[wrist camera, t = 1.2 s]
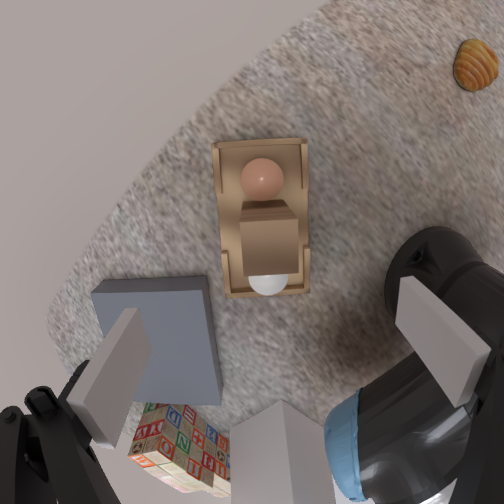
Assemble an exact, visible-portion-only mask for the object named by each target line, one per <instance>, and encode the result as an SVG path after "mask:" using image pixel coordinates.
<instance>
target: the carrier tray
mask: <svg viewBox="0 0 504 504" xmlns="http://www.w3.org/2000/svg"><path fill="white" fill-rule="evenodd" d="M212 157H213V170H214V182H215V194H217V204H218V215H219V226H220V237H221V248H222V252H221V259H222V269H223V279H224V288H225V297H226V298H245V297H262V296H277V295H291V294H304V293H310V247H309V246H308V193H307V189H309V167H308V146H307V138H278V139H256V140H240V141H227V142H216V143H212ZM258 158H266V159H270V160H272V161H274V162H275V163H276V164H278V166H279V167H280V168H281V170H282V172H283V176H284V183H283V187H282V189H281V191H280V192H279V194H278V195H277V196H275V197H274V198H272V199H270V200H266V201H258V200H254V199H252V198H250V197H249V196H248V195H247V194H246V193H245V192H244V191H243V189H242V186H241V181H240V177H241V173H242V170H243V168H244V167H245V166H246V165H247V164H248V163H249V162H250V161H252V160H254V159H258ZM279 274H288V282H287V284H286V286H285V287H284V289H283V290H281V291H280V292H279V293H277V294H274V295H262V294H259V293H257V292H256V291H255V290H253V288H252V287H251V285H250V283H249V276H263V275H279Z"/></svg>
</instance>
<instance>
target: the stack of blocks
mask: <svg viewBox="0 0 504 504" xmlns="http://www.w3.org/2000/svg"><path fill="white" fill-rule="evenodd" d="M128 457H129V458H130V459H131V460H133V461H134V462H136V463H137V464H139V465H140V466H141V467H143V469H144V470H146V471H147V472H149V473H150V474H152V475H153V476H155V477H157V478H159V479H160V480H162V481H163V482H165V483H167V484H168V485H171V486H172V487H174V488H175V489H177V490H179V491H181V492H182V493H188V492H194V491H200V490H205V491H206V492H209V493H210V494H212V495H214V496H216V497H218V498H220V497H226V496H231V481H230V442H229V441H227V440H226V439H225V438H224V437H223V436H222V435H220V434H219V433H217V432H216V431H215V430H214V429H213V428H212V427H211V426H209V425H208V424H207V423H206V422H205V421H204V420H202V419H201V418H200V417H199V416H198V415H197V414H196V413H195V412H194V411H193V410H192V409H191V408H190V407H189V406H188V405H182V404H163V403H149V402H147V403H146V406H145V409H144V411H143V415H142V417H141V420H140V423H139V425H138V428H137V430H136V433H135V435H134V438H133V442H132V445H131V448H130V451H129V453H128Z"/></svg>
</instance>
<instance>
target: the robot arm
mask: <svg viewBox="0 0 504 504" xmlns="http://www.w3.org/2000/svg"><path fill="white" fill-rule="evenodd" d="M385 302H386V306H387V308H388V311H389V313H390V314H391V316H392V317H393V318H394V319H395V324H396V326H397V327H398V328H399V330H400V331H401V332H402V334H403V335H404V336H405V338H406V339H407V340H408V342H409V343H410V344H411V346H412V347H413V348H414V350H415V351H414V352H413V353H411V354H410V355H409V356H407V357H406V358H405V359H404V360H402V361H401V362H399V363H398V364H397V365H395V366H394V367H393V368H391V369H390V370H389V371H387V372H386V373H384V374H383V375H381V376H380V377H379V378H377V379H376V380H374V381H373V382H371V383H370V384H368V385H367V386H365V387H364V388H363V387H362V388H360V389H358V390H357V391H356V393H355V394H354V395H352V396H351V397H349V398H348V399H346V400H345V401H343V402H342V403H340V404H339V405H337V406H336V407H335V408H334V409H332V411H331V412H330V413H329V415H328V417H327V419H326V422H325V427H324V440H325V442H324V443H325V451H326V456H327V460H328V463H329V467H330V470H331V473H332V475H333V477H334V479H335V482H336V484H337V486H338V487H339V489H340V491H341V492H342V493H343V494H344V495H345V496H346V497H347V498H349V500H351V501H353V502H360V501H366V500H368V498H372V499H373V501H374V502H375V504H504V274H503V273H501V272H499V271H498V270H496V269H494V268H493V267H491V266H489V265H488V264H486V263H484V261H483V260H482V258H481V257H480V256H479V254H478V253H477V252H476V250H475V249H474V248H473V247H472V245H471V243H470V242H469V241H468V240H467V239H466V238H465V237H464V236H463V235H461V234H459V233H457V232H455V231H453V230H451V229H449V228H445V227H432V228H428V229H425V230H423V231H421V232H419V233H417V234H416V235H414V236H413V237H412V238H410V239H409V240H408V241H407V242H406V243H405V244H404V245H403V246H402V248H401V249H400V250H399V251H398V253H397V254H396V256H395V258H394V259H393V261H392V263H391V265H390V268H389V271H388V273H387V277H386V282H385ZM152 352H153V351H152V348H151V345H150V342H149V339H148V336H147V333H146V330H145V327H144V324H143V321H142V318H141V314H140V311H139V308H138V307H137V308H125V309H124V310H123V312H122V313H121V315H120V316H119V318H118V319H117V321H116V322H115V324H114V325H113V326H112V328H111V329H110V331H109V332H108V334H107V335H106V337H105V338H104V340H103V341H102V343H101V344H100V346H99V347H98V349H97V351H96V352H95V354H94V355H93V357H92V358H91V360H85V361H84V362H83V363H82V364H80V365H79V366H78V367H77V369H76V370H75V372H74V373H73V376H71V378H70V380H69V382H68V383H67V384H66V386H65V387H64V389H63V391H62V392H61V394H60V395H59V397H58V399H57V398H56V396H55V395H54V393H53V391H52V390H51V388H49V387H47V386H39V387H36V388H34V389H33V390H31V391H30V392H29V393H28V394H27V395H26V397H25V401H24V403H25V405H26V406H27V408H28V409H29V410H30V412H31V413H32V414H31V415H30V414H29V415H24V414H23V412H22V411H21V410H20V408H19V407H17V406H10V407H7V408H5V409H4V410H3V411H2V412H1V413H0V504H57V501H58V504H121V503H120V501H119V499H118V498H117V496H116V494H115V492H114V491H113V489H112V487H111V486H110V483H109V482H108V479H107V478H106V476H105V474H104V472H103V470H102V468H101V466H100V464H99V461H98V459H97V457H96V455H95V453H94V451H93V449H92V448H91V446H90V445H89V444H90V442H91V439H92V438H93V440H94V441H95V442H96V444H97V445H98V446H99V447H104V448H111V449H115V447H116V445H117V442H118V439H119V436H120V434H121V431H122V428H123V426H124V423H125V420H126V418H127V415H128V412H129V410H130V407H131V404H132V402H133V399H134V397H135V394H136V392H137V389H138V387H139V384H140V382H141V379H142V377H143V374H144V372H145V369H146V367H147V364H148V362H149V359H150V357H151V355H152ZM56 498H57V499H56Z"/></svg>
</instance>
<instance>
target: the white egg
mask: <svg viewBox="0 0 504 504" xmlns="http://www.w3.org/2000/svg"><path fill="white" fill-rule="evenodd" d="M287 282H288V274H279V275H263V276H249V283H250V285H251V287H252V288H253V290H255V291H256V292H257V293H259V294H262V295H274V294H277V293H279V292H280V291H281V290H283V289H284V287H285V286H286V284H287Z"/></svg>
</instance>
